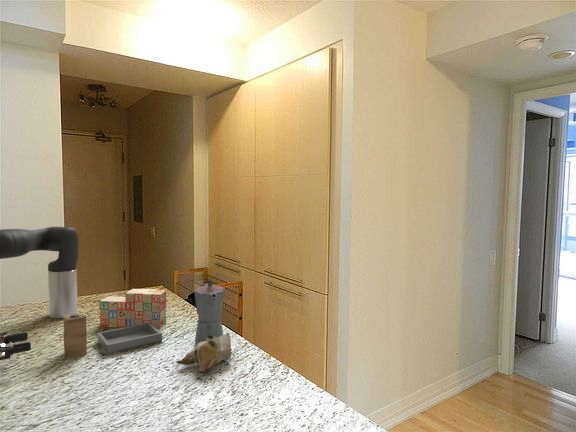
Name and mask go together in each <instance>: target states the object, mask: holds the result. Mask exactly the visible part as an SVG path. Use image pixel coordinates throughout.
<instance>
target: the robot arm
mask: <svg viewBox="0 0 576 432" xmlns="http://www.w3.org/2000/svg"><path fill="white" fill-rule="evenodd" d="M33 251H34V252H35V251H45V252H46V251H47V252H48V251H49V252H58V256H57V258H56V259H55V260H52V261H49V263H48V264H47V277H48V278H47V279H48V317H49V318H51V319H63V316H65V315H71V314H77V313H78V277H77V276H78V275H77V274H78V273H77V272H78V271H77V267H78V266H77V265H78V262H79V258H80V257H79V255H80V254H79V251H80V237H79V233H78V231H77V230H76V228H74V227H68V226H51V227H50V226H49V227H45V228H44V227H43V228H38V229H33V230H32V229H23V228H6V229H4V228H3V229H0V260H3V259H5V260H6V259H11V258H17V257H21V256H22V257H23V256H25V255H27V254H29V253H30V252H33ZM28 337H29V334H28V332H27V331H24V332H19V333H13V334H12V333H8V332H0V361H4V360H9V359H11V358H12V356H13V355H14V354H19V353H25V352H29V351H31V349H32V347H31V346H32V344H31V341H28V339H29V338H28ZM25 341H26V342H25ZM20 342H21V343H20Z"/></svg>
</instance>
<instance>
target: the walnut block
mask: <svg viewBox="0 0 576 432" xmlns="http://www.w3.org/2000/svg"><path fill="white" fill-rule="evenodd" d="M62 319H63V352H64V355H65V357H66V359H67V358H68V359H71V358H76V357H77V358H78V357H80V356H84V355H87V354H88V350H87V349H88V345H87V343H88V342H87V339H88V338H87V337H88V334H87V316H86V314H84V312H77V314H71V315H65V316H63V318H62Z"/></svg>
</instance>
